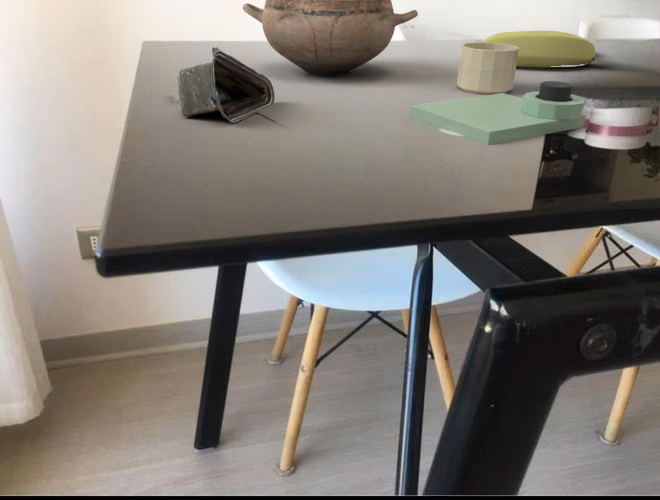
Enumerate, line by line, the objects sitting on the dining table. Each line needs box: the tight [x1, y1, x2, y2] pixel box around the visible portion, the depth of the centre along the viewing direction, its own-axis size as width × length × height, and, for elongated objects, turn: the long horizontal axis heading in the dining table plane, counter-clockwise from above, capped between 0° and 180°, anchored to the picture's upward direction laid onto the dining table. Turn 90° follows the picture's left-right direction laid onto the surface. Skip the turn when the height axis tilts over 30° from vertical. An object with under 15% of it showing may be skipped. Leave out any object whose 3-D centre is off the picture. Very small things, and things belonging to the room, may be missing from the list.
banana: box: [483, 30, 596, 68], centre depth 102 cm, size 14×6×20 cm
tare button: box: [538, 80, 573, 102], centre depth 66 cm, size 3×3×2 cm
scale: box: [409, 91, 587, 146], centre depth 67 cm, size 15×12×3 cm
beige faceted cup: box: [456, 41, 519, 95], centre depth 82 cm, size 7×7×6 cm
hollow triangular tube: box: [177, 46, 276, 123], centre depth 69 cm, size 10×7×12 cm
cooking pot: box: [242, 0, 419, 77], centre depth 90 cm, size 25×19×12 cm
